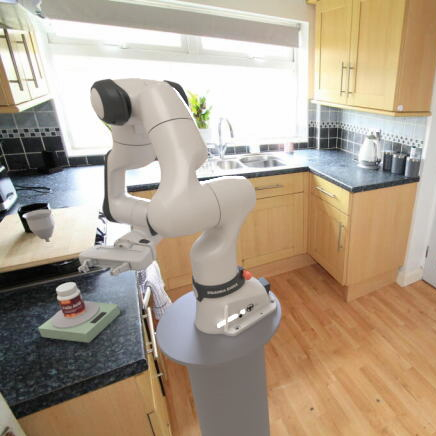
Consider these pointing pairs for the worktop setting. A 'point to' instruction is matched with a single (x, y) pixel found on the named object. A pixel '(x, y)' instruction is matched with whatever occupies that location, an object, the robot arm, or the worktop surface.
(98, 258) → the robot arm
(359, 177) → the worktop surface
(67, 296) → the pill bottle
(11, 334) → the worktop surface
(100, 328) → the scale
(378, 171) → the worktop surface
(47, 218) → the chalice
